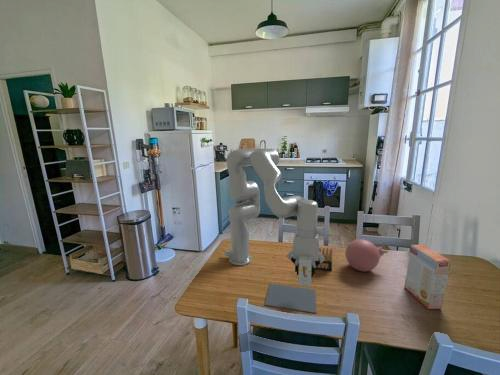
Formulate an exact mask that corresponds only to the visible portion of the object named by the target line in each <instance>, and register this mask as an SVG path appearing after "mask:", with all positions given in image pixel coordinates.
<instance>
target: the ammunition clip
mask: <svg viewBox="0 0 500 375" xmlns="http://www.w3.org/2000/svg"><path fill="white" fill-rule="evenodd" d="M325 249H326V250H325ZM319 252H320V253H321V254H322V255H323V257H324V258H325V261H323V262H322V263H320V264H319V265H317V266H316V268H315V271H326V272H332V271H333V249H332V247H330V250H329V248H328V247H326V248H325V247H323V248H321V247H319ZM319 259H320V258H319Z"/></svg>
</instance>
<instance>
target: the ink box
mask: <svg viewBox="0 0 500 375" xmlns="http://www.w3.org/2000/svg"><path fill="white" fill-rule="evenodd" d="M311 268H312V257H305V256H299V274H298V286H300V287H308V288H310V287H311V288H312V276H311Z"/></svg>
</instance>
